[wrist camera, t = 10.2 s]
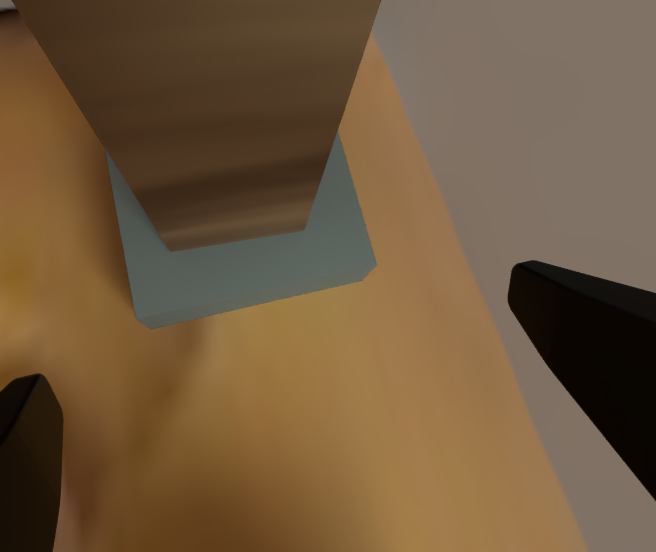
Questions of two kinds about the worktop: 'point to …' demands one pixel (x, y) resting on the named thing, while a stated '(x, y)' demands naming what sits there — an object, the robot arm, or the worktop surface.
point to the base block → (244, 256)
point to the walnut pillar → (210, 102)
